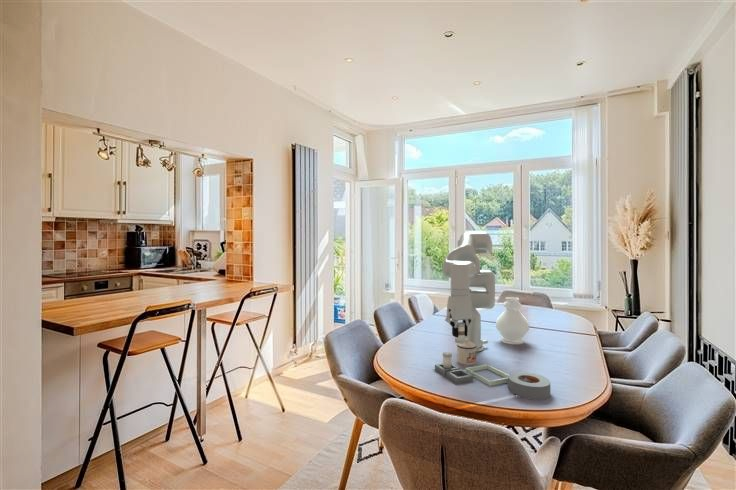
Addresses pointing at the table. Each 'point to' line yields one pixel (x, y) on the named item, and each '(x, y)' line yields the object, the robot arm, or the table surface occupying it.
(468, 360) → the teacup with lid
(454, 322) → the robot arm
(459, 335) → the fuse
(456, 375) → the fuse holder
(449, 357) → the cylinder
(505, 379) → the parts tray
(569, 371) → the table surface
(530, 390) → the tape roll
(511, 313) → the decorative vase
